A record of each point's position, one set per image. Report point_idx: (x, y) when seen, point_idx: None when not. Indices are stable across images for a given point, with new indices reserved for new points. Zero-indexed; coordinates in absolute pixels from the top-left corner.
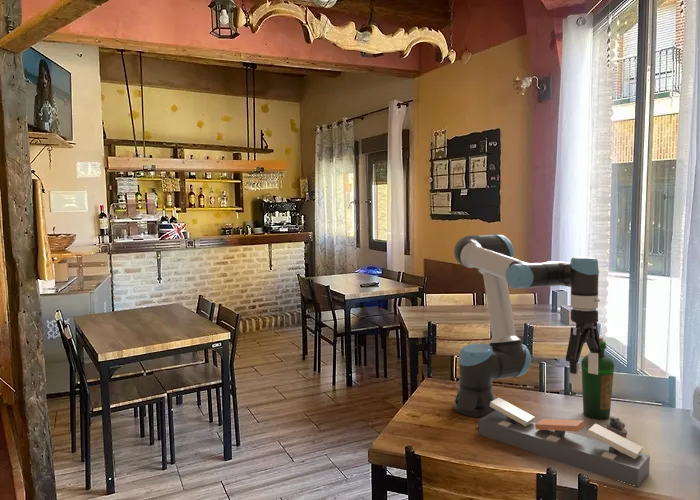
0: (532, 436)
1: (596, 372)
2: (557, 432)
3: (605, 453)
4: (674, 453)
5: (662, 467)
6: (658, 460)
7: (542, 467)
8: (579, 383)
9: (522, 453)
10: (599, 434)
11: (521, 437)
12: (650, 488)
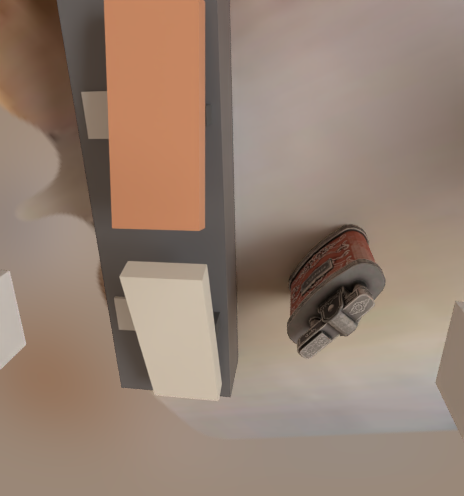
0: (61, 26)
1: (443, 393)
2: None
3: None
4: (426, 391)
5: (300, 379)
6: (341, 366)
7: (33, 121)
8: (16, 349)
9: None
10: (131, 310)
11: None
12: None
